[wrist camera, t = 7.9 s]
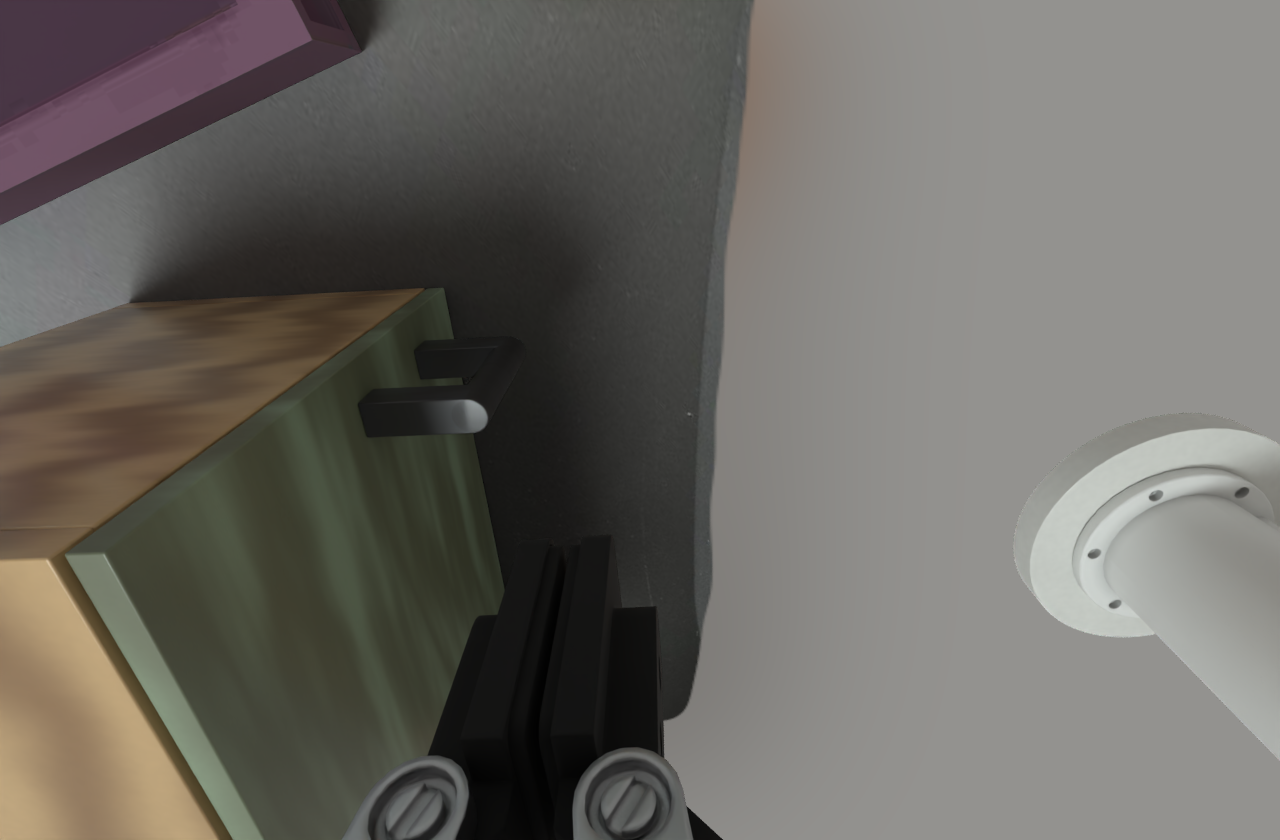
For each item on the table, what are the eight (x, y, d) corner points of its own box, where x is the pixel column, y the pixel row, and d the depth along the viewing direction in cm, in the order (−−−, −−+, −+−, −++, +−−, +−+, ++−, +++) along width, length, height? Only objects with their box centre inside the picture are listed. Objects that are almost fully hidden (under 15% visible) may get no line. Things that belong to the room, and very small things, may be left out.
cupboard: (424, 287, 35) (47, 558, 13) (497, 627, 47) (358, 1069, 25) (127, 302, 36) (-685, 581, 14) (270, 632, 48) (-56, 1066, 26)
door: (534, 282, 35) (336, 545, 13) (581, 626, 46) (516, 1065, 25) (427, 288, 35) (62, 554, 14) (499, 628, 47) (365, 1064, 25)
